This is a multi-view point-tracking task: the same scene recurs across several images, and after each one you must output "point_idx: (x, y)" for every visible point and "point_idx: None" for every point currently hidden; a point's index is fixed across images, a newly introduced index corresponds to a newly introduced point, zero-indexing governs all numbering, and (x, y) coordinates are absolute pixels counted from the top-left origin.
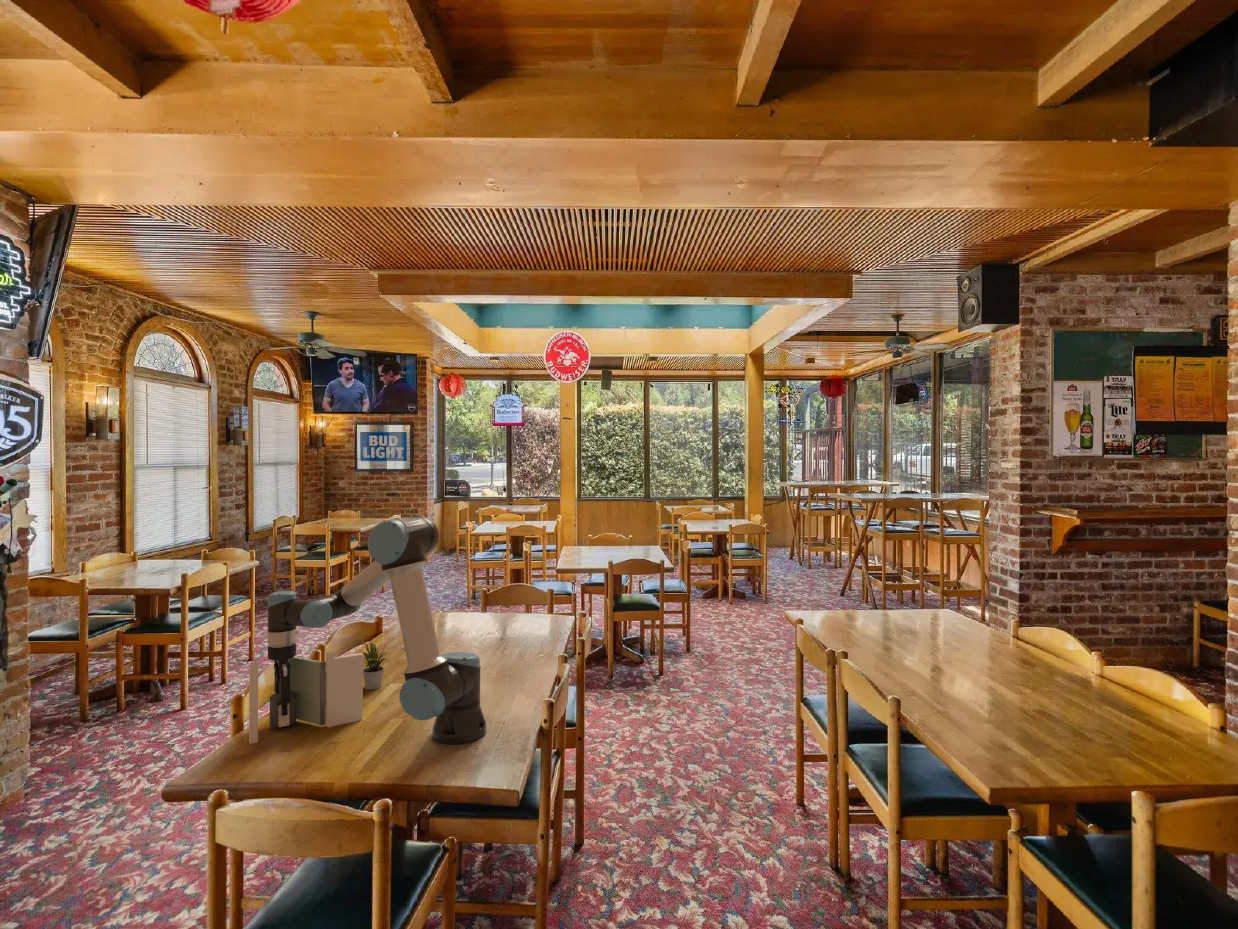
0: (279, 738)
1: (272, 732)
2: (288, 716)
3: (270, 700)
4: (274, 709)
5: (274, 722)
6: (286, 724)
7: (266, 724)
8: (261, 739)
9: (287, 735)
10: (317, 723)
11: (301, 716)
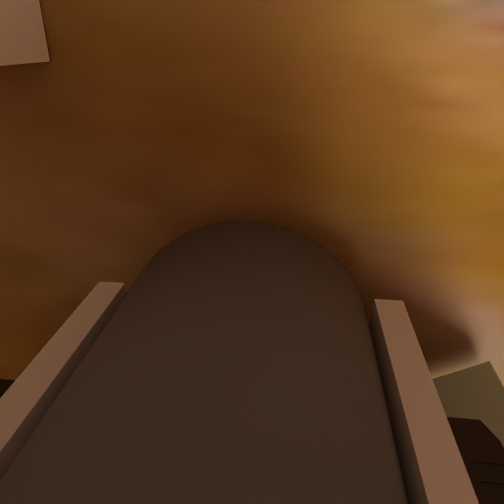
0: (13, 237)
1: (180, 214)
2: None
3: (108, 475)
4: (76, 379)
5: (143, 273)
6: None
7: (440, 202)
8: (48, 102)
9: (53, 296)
10: None
11: None
